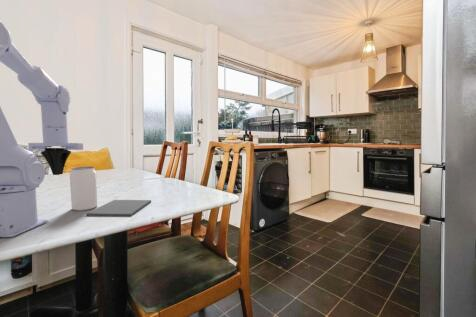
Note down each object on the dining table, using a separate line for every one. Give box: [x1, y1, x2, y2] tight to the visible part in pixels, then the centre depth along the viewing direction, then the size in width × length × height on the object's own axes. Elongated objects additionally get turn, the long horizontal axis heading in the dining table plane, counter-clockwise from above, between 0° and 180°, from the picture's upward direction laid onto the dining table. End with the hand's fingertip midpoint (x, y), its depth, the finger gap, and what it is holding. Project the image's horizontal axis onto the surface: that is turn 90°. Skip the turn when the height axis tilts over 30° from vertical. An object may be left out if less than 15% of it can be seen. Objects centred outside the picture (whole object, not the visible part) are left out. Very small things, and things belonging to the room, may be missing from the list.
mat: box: [86, 199, 152, 217], centre depth 70 cm, size 14×12×1 cm
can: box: [69, 166, 99, 212], centre depth 69 cm, size 6×6×12 cm
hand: (57, 174), depth 69 cm, fingers closed
